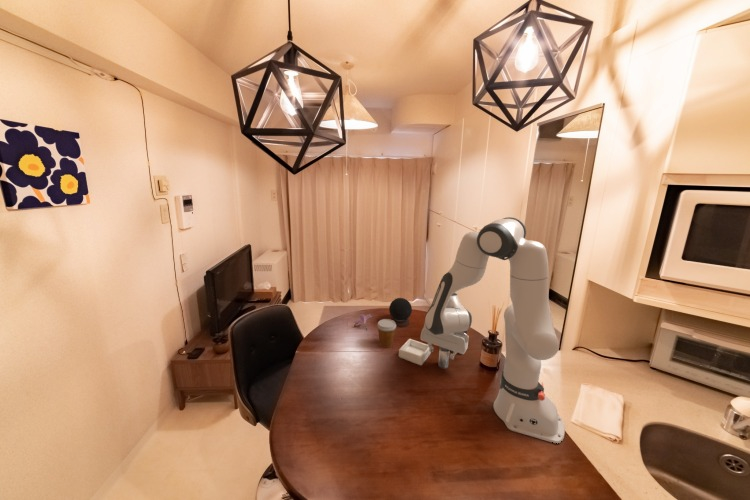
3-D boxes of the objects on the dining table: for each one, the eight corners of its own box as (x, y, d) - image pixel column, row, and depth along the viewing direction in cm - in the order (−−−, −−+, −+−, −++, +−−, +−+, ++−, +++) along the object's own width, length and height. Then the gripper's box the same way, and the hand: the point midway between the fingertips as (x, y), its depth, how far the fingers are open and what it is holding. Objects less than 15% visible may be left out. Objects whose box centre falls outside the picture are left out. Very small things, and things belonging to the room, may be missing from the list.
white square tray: (430, 353, 140) (431, 345, 139) (421, 365, 130) (421, 357, 129) (409, 345, 146) (409, 338, 145) (398, 357, 136) (398, 349, 135)
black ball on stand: (384, 322, 168) (384, 298, 165) (397, 315, 178) (398, 292, 175) (402, 330, 160) (403, 305, 157) (415, 322, 170) (416, 298, 166)
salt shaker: (449, 364, 131) (451, 343, 129) (446, 369, 128) (448, 348, 125) (440, 361, 134) (442, 340, 131) (436, 366, 130) (438, 345, 127)
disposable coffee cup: (383, 337, 152) (384, 316, 150) (398, 343, 147) (399, 322, 144) (372, 345, 145) (373, 323, 142) (388, 352, 140) (389, 329, 137)
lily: (375, 325, 167) (370, 309, 168) (376, 328, 155) (371, 310, 156) (356, 332, 166) (351, 316, 167) (355, 335, 154) (350, 318, 156)
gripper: (470, 330, 124) (466, 359, 127) (425, 317, 133) (422, 344, 137) (467, 337, 118) (463, 366, 122) (420, 323, 128) (417, 350, 131)
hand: (441, 354), depth 129 cm, fingers open, 8 cm apart
